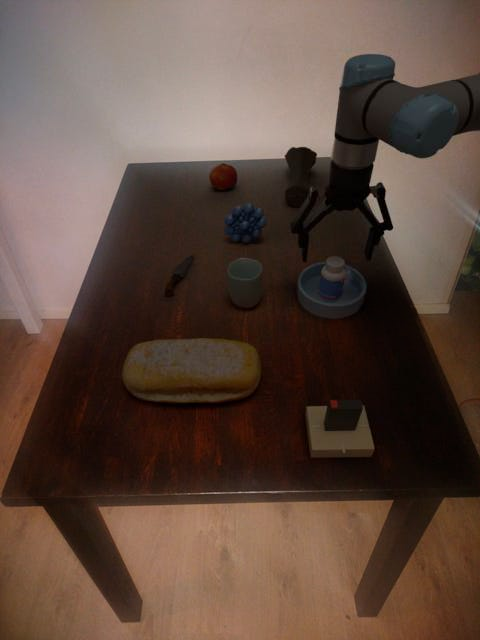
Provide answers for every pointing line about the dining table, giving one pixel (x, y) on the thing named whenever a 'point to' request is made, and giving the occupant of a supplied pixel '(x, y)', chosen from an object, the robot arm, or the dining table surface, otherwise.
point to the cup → (245, 282)
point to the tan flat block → (337, 437)
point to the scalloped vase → (299, 174)
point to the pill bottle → (332, 279)
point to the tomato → (223, 176)
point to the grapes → (245, 223)
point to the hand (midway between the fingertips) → (335, 257)
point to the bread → (192, 370)
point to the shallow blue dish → (332, 310)
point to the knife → (178, 275)
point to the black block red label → (342, 415)
